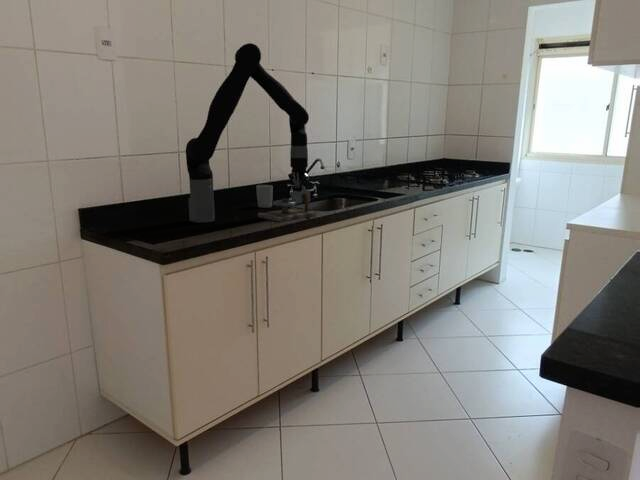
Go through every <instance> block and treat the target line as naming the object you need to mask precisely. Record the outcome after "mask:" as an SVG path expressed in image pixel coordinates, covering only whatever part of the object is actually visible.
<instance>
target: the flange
mask: <svg viewBox="0 0 640 480" xmlns="http://www.w3.org/2000/svg"><path fill="white" fill-rule="evenodd" d="M305 194H308V203H309V202H311V189H310V190H309V189H302V190H301V191H296V190H292V191H291V199H289V198H286V197H285V198H281V199H279V200H278V199H277V200H274V201H273V200H272V206H275V207H282V206H289V207H293V206H297V205H298V204H301V203H302V204H303V203H304V204H305Z"/></svg>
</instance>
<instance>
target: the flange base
mask: <svg viewBox="0 0 640 480" xmlns="http://www.w3.org/2000/svg"><path fill="white" fill-rule="evenodd" d="M289 207H290V206H281V210H273V211H266V212H258V213H257V218H260V219H265V220H269V221H273V220H276V221H275V222H278V221H283V222H287V220H289V221H293V220H292V219H295V220H299V219H298V218H301V219H305V218H304V217H307V218H313V217H317V212H315V211H311V210H309V202H308V194H305V202H304V209H299V208H295V207H292V208H289Z"/></svg>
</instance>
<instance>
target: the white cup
mask: <svg viewBox="0 0 640 480" xmlns="http://www.w3.org/2000/svg"><path fill="white" fill-rule="evenodd" d="M255 187H256V200H257V207H258V208H260V209H262V208H264V209H266V208H272V207H273V192H274V190H273V189H274V186H273V185H271V184H258V185H256V186H255Z"/></svg>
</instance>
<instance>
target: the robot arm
mask: <svg viewBox="0 0 640 480" xmlns="http://www.w3.org/2000/svg"><path fill="white" fill-rule="evenodd" d="M261 60H262V52H261V49H260V47H259V46H258V45H256V44H254V43H253V42H252V43H251V42H250V43H248V42H247V43H245V44H243V45H242V46H240V47H239V48H238V49H237V50H236V52H235V55H234V61H235V62H234V65H233V67H232V69H231V71H230V72H229V74H228V75H227V77H226V78H225V79H224V80H223V82H222V83H221V85H220V86H219V88H218V89H217V91H216V93H215V95H214V97H213V99H212V100H211V103H210V104H209V107H208V112H207V116H206V121H205V123H204V127H203V128H202V130H201V132H200V133H199V135H198V136H197V137H193V138H192V139H190V140H189V141H188V142H187V144H186V146H185V158H186V159H185V160H186V169H187V170H186V171H187V173H188V178H189V193H190V194H189V197H188V213H189V214H188V215H189V221H190V222H192V223H196V224H198V223H199V224H200V223H211V222H214V221H215V220H216V218H215V217H216V216H215V197H214V193H215V192H214V177H213V176H214V173H213V171H212V169H211V166H210V165H211V164H210V160H211V158H212V157H213V156H214V153H215V151H216V149H217V146H218V143H219V140H220V138H221V136H222V134H223V131H224V130H225V128H226V127H227V124H228V123H229V122H230V119H231V117H232V116H233V115H234V112H235V110H236V107H237V106H238V104H239V102H240V99H241V98H242V95H243V93H244V90H245V88H246V86H247V83H248V81H249V79H250V78H251V79H252V80H253V81H255V82H256V84H258V85H259V86H260V87H261V89H263V90H264V92H265V93H267V95H268V96H269V97H270V98H271V100H272V101H274V103H275V104H276V105H277V107H278V108H279V109H280V110H282V111H283V112H285V113H286V114H287V115H288V122H289V131H290V149H289V151H290V154H289V156H290V157H289V158H290V160H289V161H290V165H289V166H290V168H291V172H290V173H288V174H287V175H288V179H289V181H290V183H291V186H294V188H295V191H301V190H303V188H305V187H307V185H308V183H309V181H310V180H311V175H308V174H307V173H308V171H307V168H308V166H309V162H308V159H309V155H308V154H309V153H308V151H309V150H308V134H307V132H306V125H307V123H308V122H309V117H310V116H309V113H308V111H307V110H306V109H305V108H304V107H303V106H302V105H301V104H300V103H299V102H298V100H296V99H294V97H293V95H292V94H291V93H290V92H289V91H288V89H286V87H285V86H284V85H283V84H282V83H280V82H279V81H278V80H277V79H275V78H274V77H273V76H272V75H270V73H268V72H267V71H266V70H265V69H264V68H263V66H262V65H261V63H260V62H261Z"/></svg>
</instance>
